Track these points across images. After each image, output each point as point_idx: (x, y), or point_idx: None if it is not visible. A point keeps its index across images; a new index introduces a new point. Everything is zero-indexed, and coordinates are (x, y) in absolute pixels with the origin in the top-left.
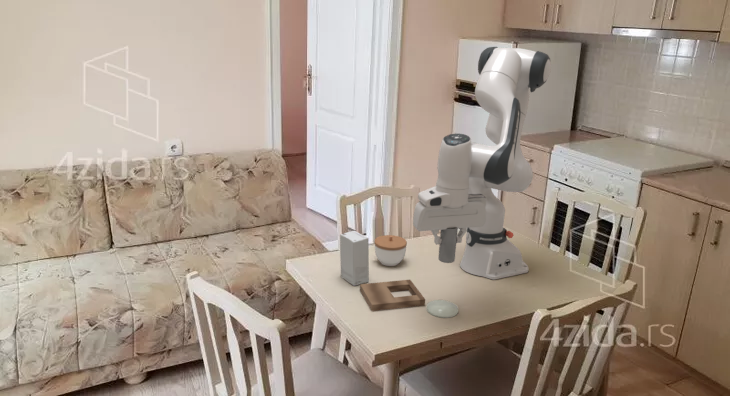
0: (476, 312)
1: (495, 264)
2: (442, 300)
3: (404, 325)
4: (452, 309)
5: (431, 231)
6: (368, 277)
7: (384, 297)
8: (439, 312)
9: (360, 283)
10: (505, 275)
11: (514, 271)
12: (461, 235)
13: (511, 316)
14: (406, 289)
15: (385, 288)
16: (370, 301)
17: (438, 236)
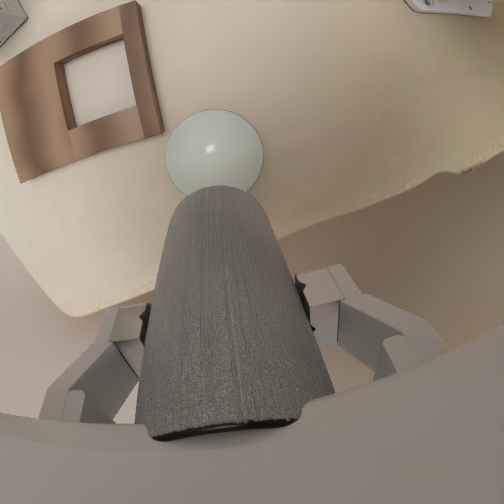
0: (311, 172)
1: None
2: (224, 114)
3: (105, 238)
4: (242, 170)
5: (52, 386)
6: (18, 17)
7: (44, 136)
8: (198, 188)
9: (6, 38)
10: (446, 12)
11: (468, 9)
12: (354, 352)
13: (385, 198)
14: (121, 39)
15: (48, 77)
16: (15, 165)
17: (129, 342)
